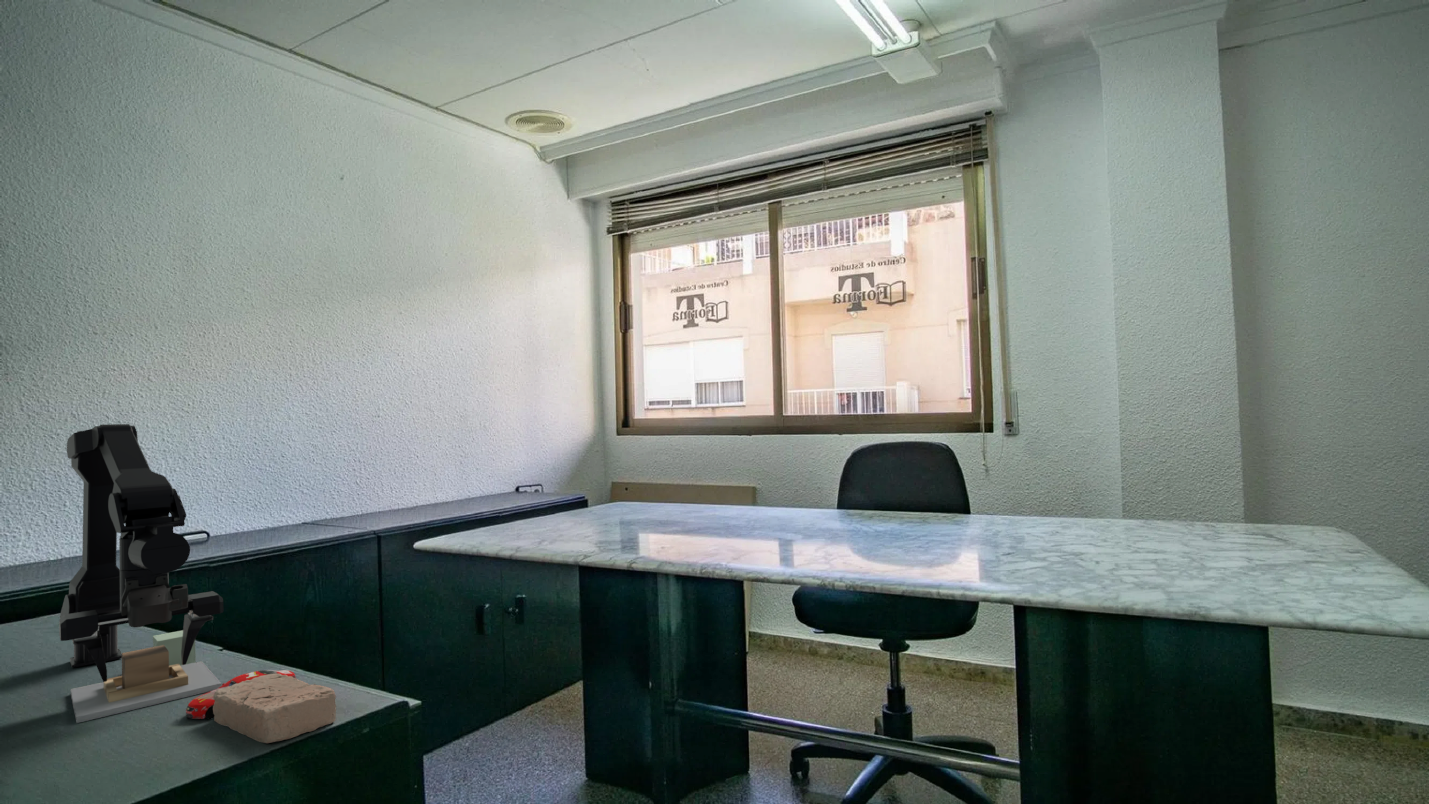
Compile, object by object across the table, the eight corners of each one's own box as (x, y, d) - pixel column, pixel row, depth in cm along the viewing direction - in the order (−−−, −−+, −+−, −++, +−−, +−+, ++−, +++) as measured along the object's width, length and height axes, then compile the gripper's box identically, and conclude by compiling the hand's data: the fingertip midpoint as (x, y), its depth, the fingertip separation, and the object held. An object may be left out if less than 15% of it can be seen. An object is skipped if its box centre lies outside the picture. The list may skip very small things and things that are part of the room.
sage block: (153, 666, 118) (153, 635, 118) (190, 658, 121) (189, 628, 122) (157, 672, 114) (157, 641, 114) (195, 664, 118) (195, 634, 118)
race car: (192, 727, 92) (192, 696, 92) (180, 718, 95) (179, 688, 95) (302, 694, 102) (302, 666, 102) (288, 686, 105) (287, 659, 105)
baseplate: (70, 694, 105) (70, 680, 105) (201, 665, 116) (201, 653, 116) (76, 723, 94) (76, 707, 94) (221, 688, 105) (221, 674, 105)
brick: (209, 723, 93) (208, 686, 93) (277, 701, 100) (277, 667, 100) (268, 752, 83) (268, 711, 84) (339, 725, 90) (339, 688, 90)
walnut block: (122, 687, 105) (121, 653, 105) (164, 677, 109) (164, 644, 109) (125, 695, 101) (125, 659, 102) (169, 685, 105) (168, 651, 105)
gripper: (61, 585, 93) (62, 705, 93) (230, 562, 107) (231, 667, 106) (58, 575, 101) (59, 685, 101) (215, 555, 114) (217, 652, 114)
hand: (145, 672), depth 105 cm, fingers open, 9 cm apart
